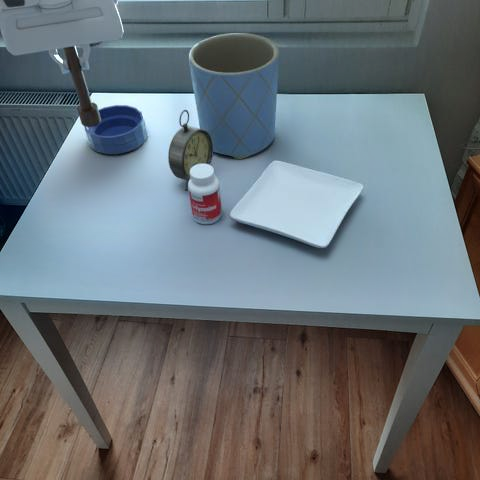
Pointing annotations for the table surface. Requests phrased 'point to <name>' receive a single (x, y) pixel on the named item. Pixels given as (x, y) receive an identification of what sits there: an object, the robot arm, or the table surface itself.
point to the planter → (236, 91)
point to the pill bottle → (204, 194)
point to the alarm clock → (189, 150)
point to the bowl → (117, 130)
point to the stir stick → (82, 90)
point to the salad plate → (297, 203)
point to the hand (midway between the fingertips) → (75, 70)
